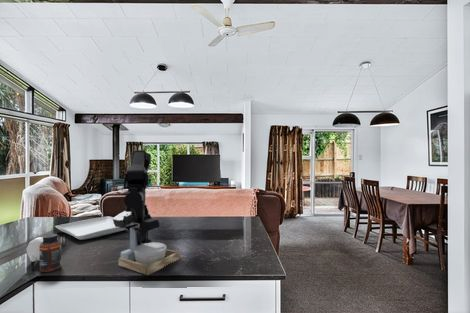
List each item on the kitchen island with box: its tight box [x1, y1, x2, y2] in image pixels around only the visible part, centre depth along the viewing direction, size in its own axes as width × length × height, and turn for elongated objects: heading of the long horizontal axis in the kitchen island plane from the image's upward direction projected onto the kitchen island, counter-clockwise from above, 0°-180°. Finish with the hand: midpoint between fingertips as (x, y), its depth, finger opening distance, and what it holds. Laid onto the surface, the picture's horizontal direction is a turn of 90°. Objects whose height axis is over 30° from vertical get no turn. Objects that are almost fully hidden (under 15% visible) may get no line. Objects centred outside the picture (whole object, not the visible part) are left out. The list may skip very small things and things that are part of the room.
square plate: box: [54, 216, 126, 241], centre depth 131 cm, size 27×27×4 cm
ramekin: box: [134, 241, 168, 266], centre depth 93 cm, size 11×11×5 cm
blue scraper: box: [120, 226, 142, 261], centre depth 97 cm, size 4×10×11 cm, turn 151°
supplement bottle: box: [39, 233, 62, 273], centre depth 87 cm, size 6×6×11 cm
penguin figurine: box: [25, 236, 43, 262], centre depth 97 cm, size 6×8×12 cm
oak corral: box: [118, 248, 181, 276], centre depth 93 cm, size 15×14×2 cm
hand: (136, 244), depth 97 cm, fingers closed on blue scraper, 3 cm apart
